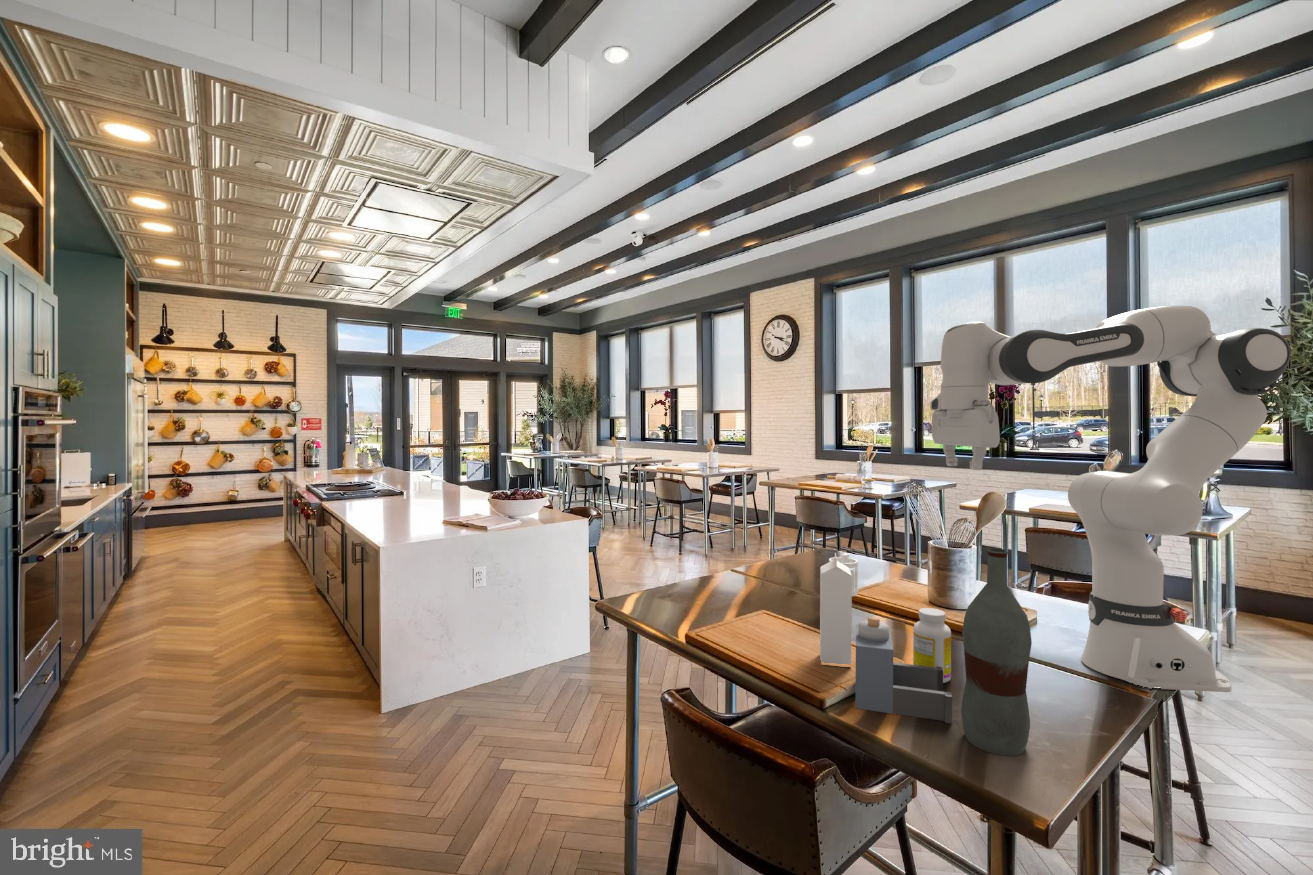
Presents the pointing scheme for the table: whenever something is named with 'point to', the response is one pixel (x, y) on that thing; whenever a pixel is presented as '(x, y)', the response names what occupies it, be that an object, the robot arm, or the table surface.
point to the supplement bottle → (932, 641)
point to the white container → (852, 564)
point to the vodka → (996, 665)
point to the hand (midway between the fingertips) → (963, 467)
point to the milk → (835, 613)
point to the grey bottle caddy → (896, 678)
